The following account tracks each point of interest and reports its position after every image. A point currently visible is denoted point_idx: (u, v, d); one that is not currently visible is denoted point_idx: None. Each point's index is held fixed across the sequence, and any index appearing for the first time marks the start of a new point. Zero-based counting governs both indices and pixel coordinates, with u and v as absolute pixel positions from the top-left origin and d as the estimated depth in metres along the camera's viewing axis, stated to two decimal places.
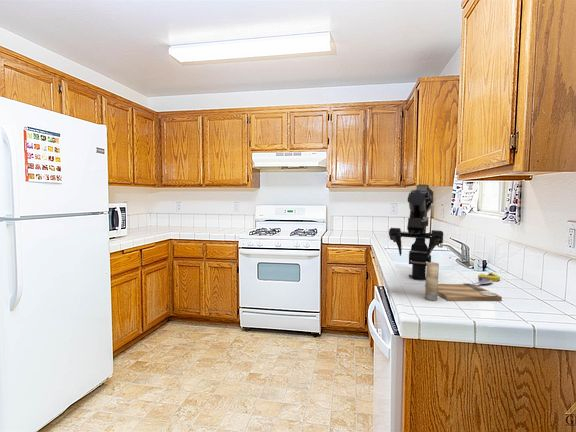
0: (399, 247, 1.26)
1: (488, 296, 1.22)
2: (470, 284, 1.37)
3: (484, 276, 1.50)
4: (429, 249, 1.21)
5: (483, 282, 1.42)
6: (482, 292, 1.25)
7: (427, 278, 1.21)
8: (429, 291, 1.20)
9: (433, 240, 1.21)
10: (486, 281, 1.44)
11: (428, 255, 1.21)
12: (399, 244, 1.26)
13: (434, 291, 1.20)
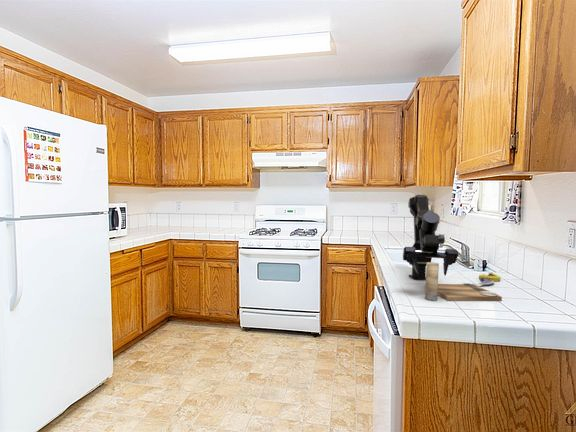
0: (416, 265, 1.25)
1: (488, 296, 1.22)
2: (470, 284, 1.37)
3: (485, 276, 1.50)
4: (446, 266, 1.22)
5: (486, 283, 1.42)
6: (482, 292, 1.25)
7: (427, 278, 1.21)
8: (429, 291, 1.20)
9: (449, 258, 1.23)
10: (488, 282, 1.43)
11: (446, 272, 1.21)
12: (416, 262, 1.25)
13: (434, 291, 1.20)
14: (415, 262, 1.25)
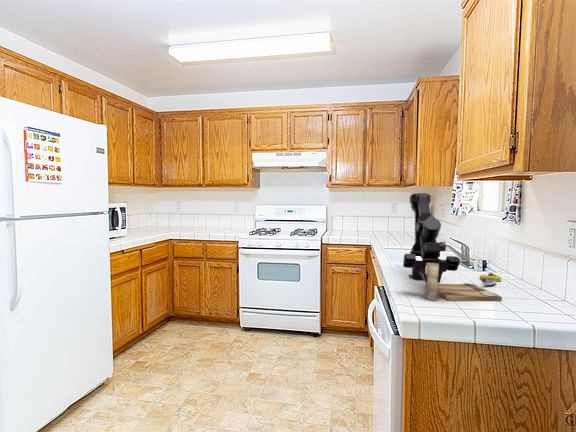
0: (424, 273, 1.22)
1: (488, 296, 1.22)
2: (470, 284, 1.37)
3: (486, 277, 1.49)
4: (440, 274, 1.21)
5: (488, 283, 1.41)
6: (482, 292, 1.25)
7: (427, 278, 1.21)
8: (429, 291, 1.20)
9: (443, 265, 1.22)
10: (490, 282, 1.42)
11: None
12: (423, 270, 1.22)
13: (434, 291, 1.20)
14: (423, 270, 1.22)
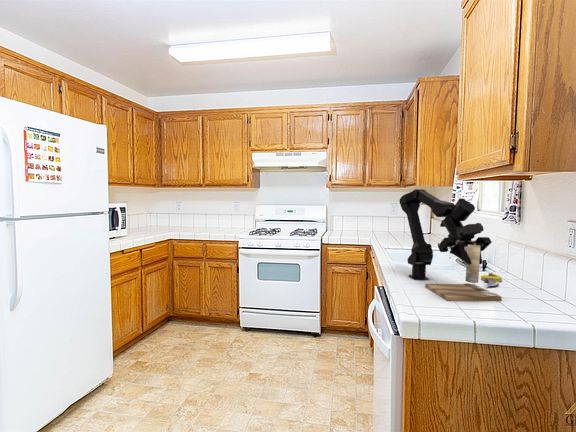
0: (467, 256, 1.20)
1: (488, 296, 1.22)
2: (470, 284, 1.37)
3: (488, 277, 1.49)
4: (480, 255, 1.21)
5: (492, 284, 1.40)
6: (482, 292, 1.25)
7: (471, 260, 1.19)
8: (473, 273, 1.19)
9: (480, 246, 1.22)
10: (494, 283, 1.42)
11: None
12: (465, 253, 1.20)
13: (478, 273, 1.19)
14: (465, 253, 1.20)
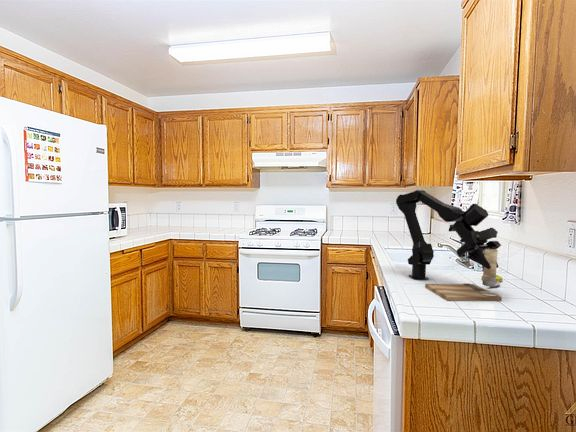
0: (486, 260, 1.22)
1: (488, 296, 1.22)
2: (470, 284, 1.37)
3: None
4: None
5: None
6: (482, 292, 1.25)
7: (490, 265, 1.22)
8: (492, 277, 1.22)
9: None
10: (495, 283, 1.41)
11: None
12: (484, 257, 1.22)
13: (495, 276, 1.23)
14: (484, 258, 1.22)
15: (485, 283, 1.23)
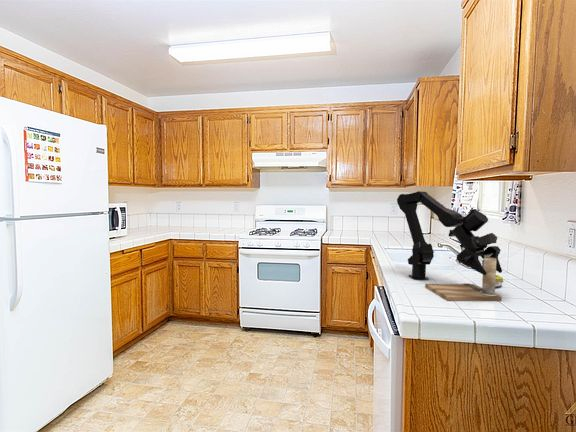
0: (482, 266, 1.21)
1: (488, 296, 1.22)
2: (470, 284, 1.37)
3: None
4: (499, 264, 1.26)
5: (496, 284, 1.39)
6: None
7: (489, 273, 1.22)
8: (491, 286, 1.22)
9: (497, 255, 1.27)
10: (497, 283, 1.41)
11: (501, 269, 1.25)
12: (480, 263, 1.21)
13: (494, 285, 1.23)
14: (479, 264, 1.21)
15: (484, 292, 1.23)
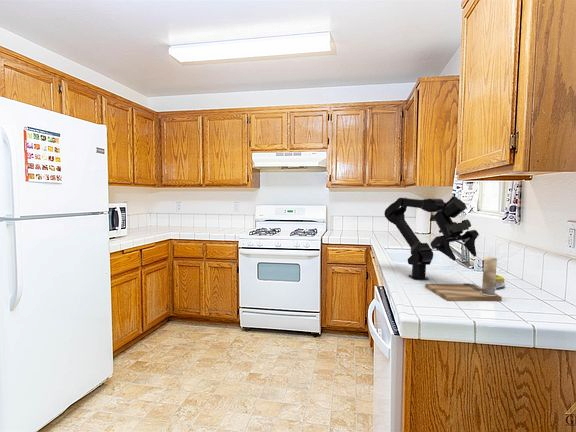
0: (452, 253, 1.30)
1: (488, 296, 1.22)
2: (470, 284, 1.37)
3: None
4: (474, 248, 1.32)
5: (500, 285, 1.38)
6: None
7: (489, 273, 1.22)
8: (491, 286, 1.22)
9: (474, 239, 1.33)
10: (501, 284, 1.40)
11: None
12: (450, 250, 1.31)
13: None
14: (450, 250, 1.30)
15: (484, 292, 1.23)
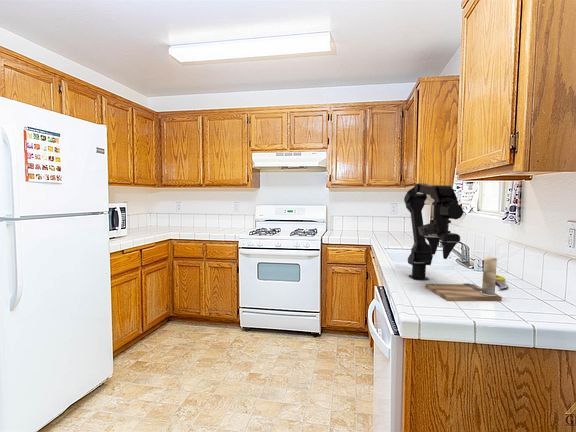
0: (430, 247, 1.39)
1: (488, 296, 1.22)
2: (470, 284, 1.37)
3: None
4: (443, 251, 1.29)
5: (504, 286, 1.37)
6: None
7: (489, 273, 1.22)
8: (491, 286, 1.22)
9: (442, 244, 1.28)
10: (504, 284, 1.39)
11: (443, 257, 1.30)
12: (430, 245, 1.39)
13: None
14: (429, 245, 1.40)
15: (484, 292, 1.23)
